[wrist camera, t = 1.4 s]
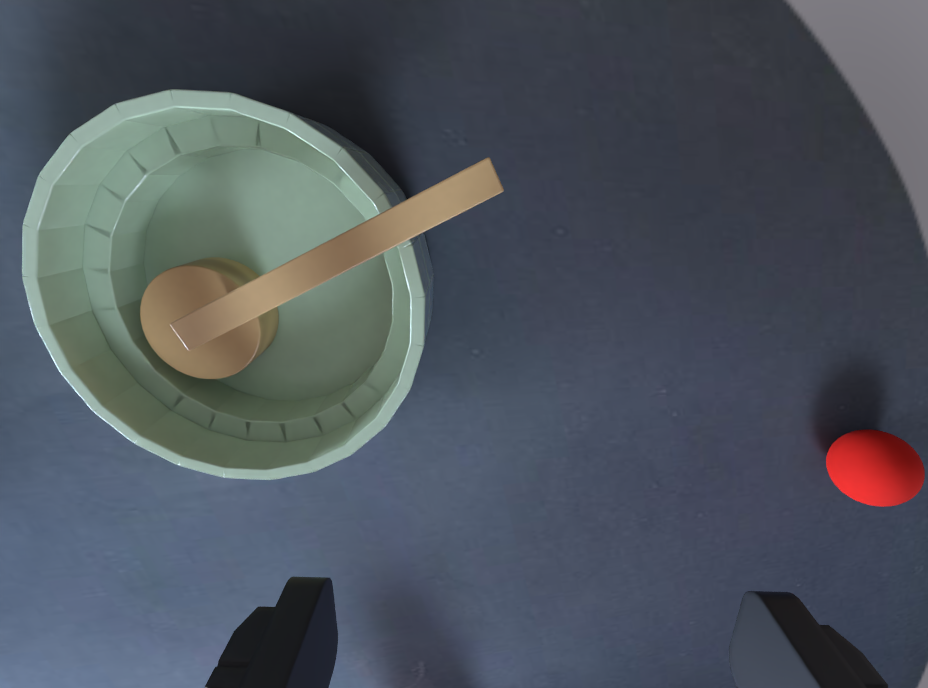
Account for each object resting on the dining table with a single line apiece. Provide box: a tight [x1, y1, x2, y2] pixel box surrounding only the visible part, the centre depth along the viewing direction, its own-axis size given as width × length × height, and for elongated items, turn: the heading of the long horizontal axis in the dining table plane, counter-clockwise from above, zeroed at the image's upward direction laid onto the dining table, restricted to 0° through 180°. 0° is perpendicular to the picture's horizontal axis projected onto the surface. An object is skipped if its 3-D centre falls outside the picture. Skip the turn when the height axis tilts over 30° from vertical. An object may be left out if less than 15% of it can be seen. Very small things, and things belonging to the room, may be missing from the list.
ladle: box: [140, 158, 504, 379], centre depth 20 cm, size 18×6×7 cm, turn 116°
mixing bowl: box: [22, 89, 434, 480], centre depth 22 cm, size 16×16×6 cm
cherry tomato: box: [826, 430, 925, 506], centre depth 26 cm, size 4×4×4 cm
